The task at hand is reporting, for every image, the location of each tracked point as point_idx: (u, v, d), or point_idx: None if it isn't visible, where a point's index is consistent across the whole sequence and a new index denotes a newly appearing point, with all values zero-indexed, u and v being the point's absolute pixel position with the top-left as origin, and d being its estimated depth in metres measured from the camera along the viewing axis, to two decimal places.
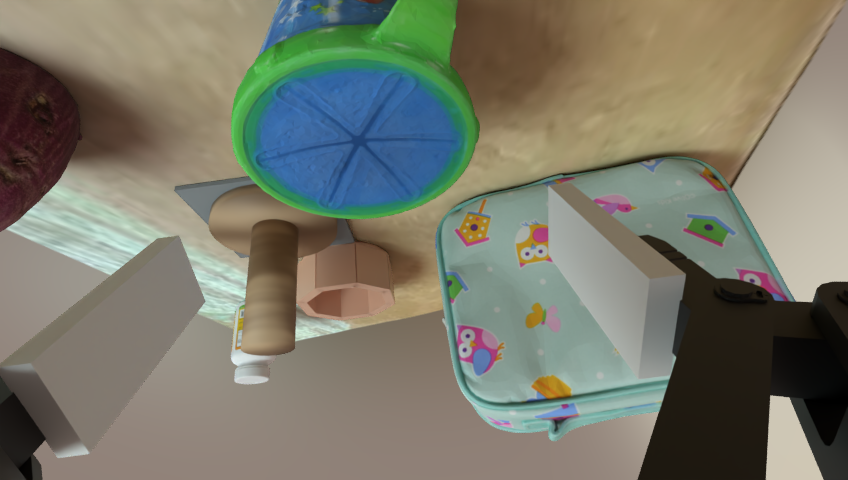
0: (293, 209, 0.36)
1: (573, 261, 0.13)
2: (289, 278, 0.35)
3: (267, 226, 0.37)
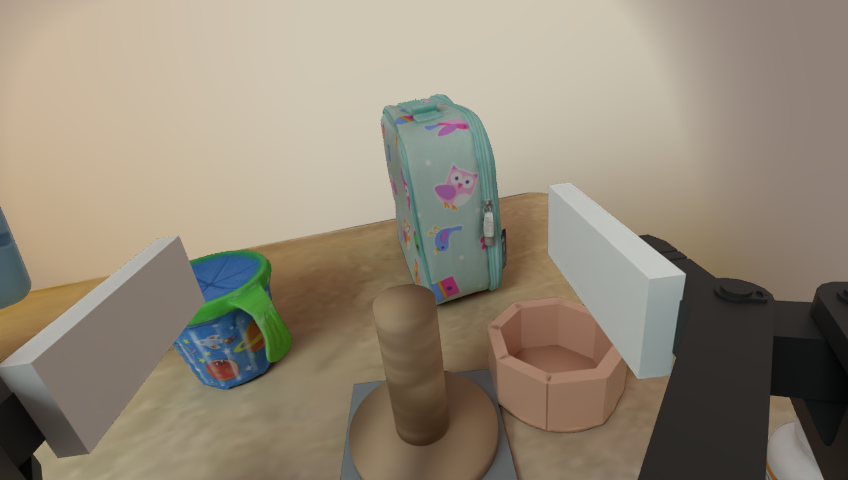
0: (384, 399, 0.34)
1: (573, 261, 0.13)
2: None
3: None
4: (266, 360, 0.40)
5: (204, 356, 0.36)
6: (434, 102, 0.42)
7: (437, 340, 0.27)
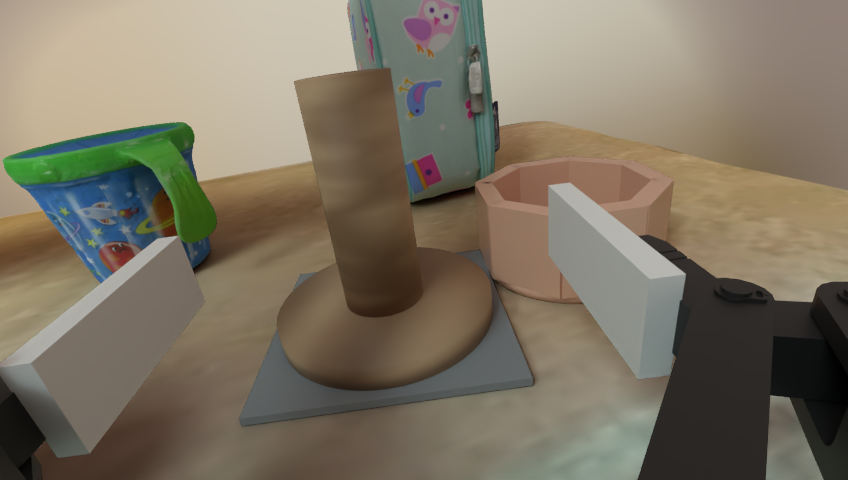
0: (335, 277, 0.25)
1: (573, 261, 0.13)
2: None
3: None
4: (188, 256, 0.31)
5: (94, 235, 0.27)
6: None
7: (395, 137, 0.18)
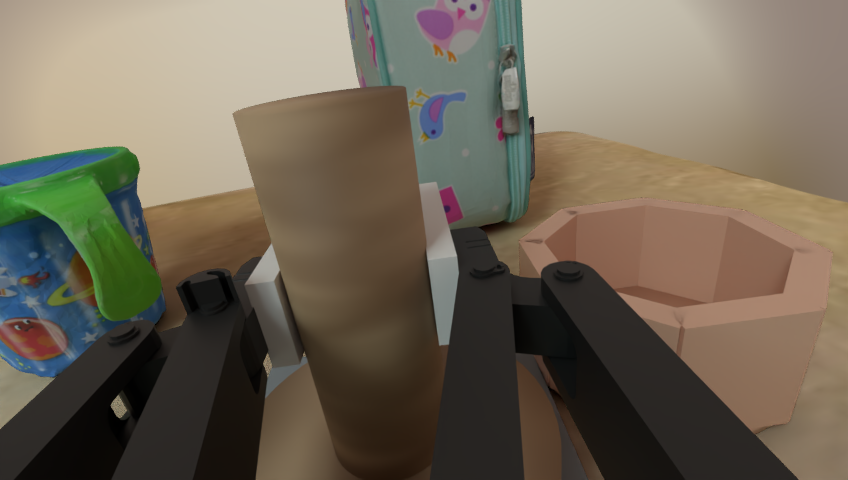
0: None
1: None
2: None
3: None
4: None
5: None
6: None
7: (414, 207, 0.10)
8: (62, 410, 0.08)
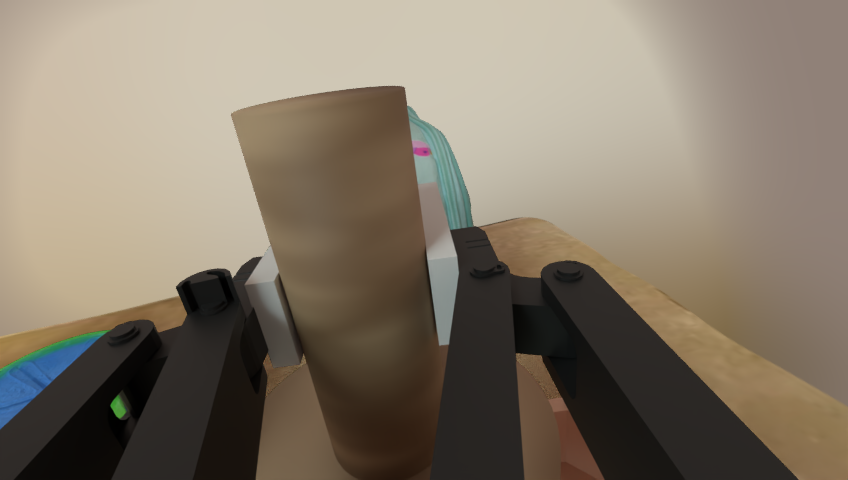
0: None
1: None
2: None
3: None
4: None
5: None
6: None
7: (413, 208, 0.10)
8: (62, 410, 0.08)
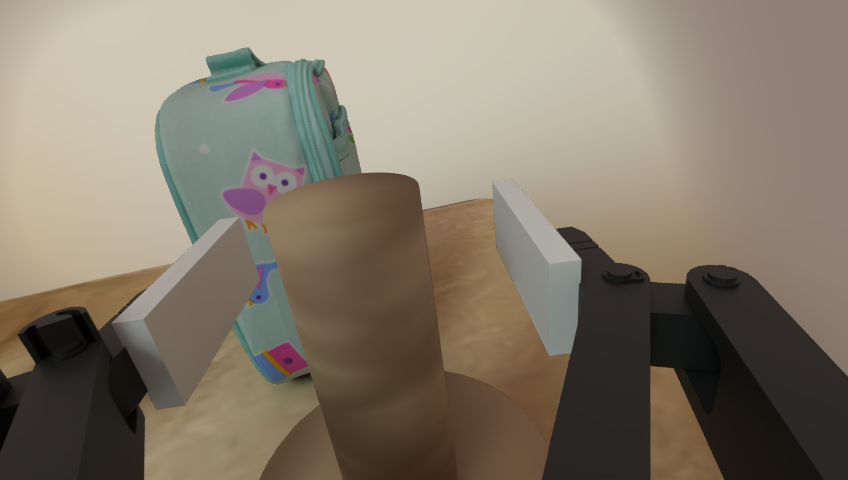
0: None
1: (510, 252, 0.14)
2: None
3: None
4: None
5: None
6: (245, 49, 0.25)
7: (426, 292, 0.11)
8: None
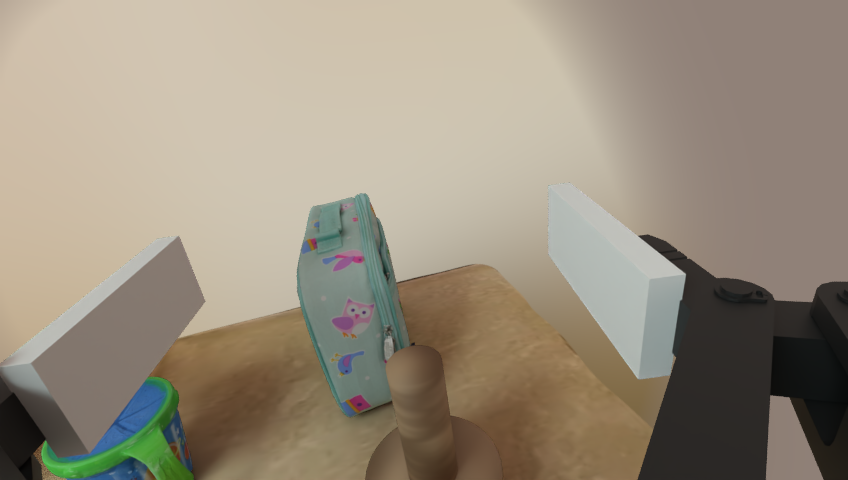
0: (396, 446, 0.37)
1: (574, 261, 0.13)
2: None
3: None
4: None
5: None
6: (336, 230, 0.44)
7: (444, 397, 0.30)
8: None
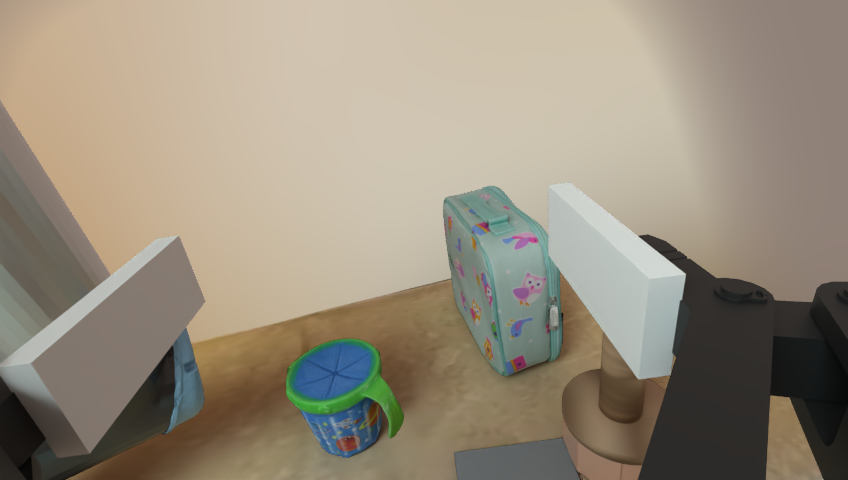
0: (580, 391, 0.45)
1: (573, 261, 0.13)
2: None
3: (600, 404, 0.42)
4: (377, 431, 0.49)
5: (337, 434, 0.45)
6: (506, 215, 0.51)
7: None
8: None
